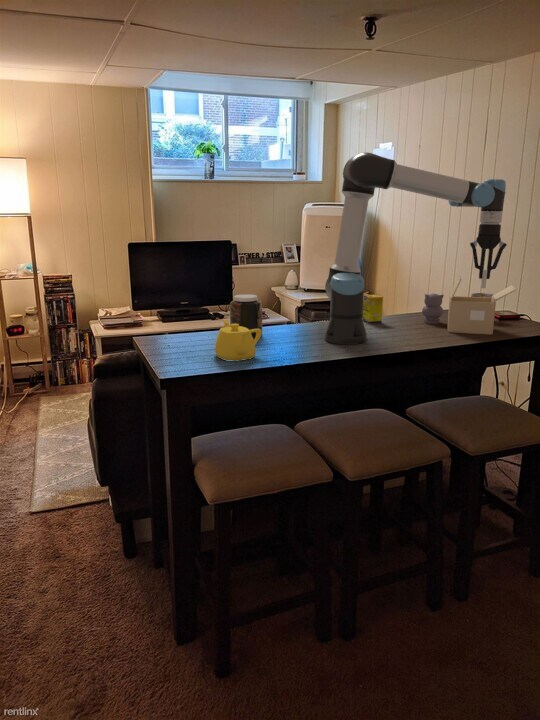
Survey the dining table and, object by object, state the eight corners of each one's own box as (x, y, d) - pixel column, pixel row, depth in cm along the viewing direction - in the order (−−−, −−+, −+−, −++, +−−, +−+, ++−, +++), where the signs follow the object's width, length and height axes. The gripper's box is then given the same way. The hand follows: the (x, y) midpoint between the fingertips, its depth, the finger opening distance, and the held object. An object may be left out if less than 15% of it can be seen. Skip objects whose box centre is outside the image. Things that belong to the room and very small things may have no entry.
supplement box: (362, 320, 232) (363, 295, 229) (375, 319, 234) (376, 294, 231) (368, 323, 227) (370, 297, 224) (381, 322, 228) (383, 296, 225)
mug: (497, 320, 230) (500, 295, 228) (479, 322, 227) (481, 297, 224) (477, 315, 241) (479, 291, 238) (460, 317, 238) (462, 292, 235)
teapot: (274, 362, 173) (274, 328, 170) (226, 367, 167) (225, 333, 164) (250, 346, 192) (250, 315, 189) (207, 350, 187) (206, 319, 184)
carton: (447, 332, 211) (450, 301, 208) (447, 325, 222) (449, 296, 219) (492, 334, 207) (495, 303, 203) (489, 327, 218) (492, 297, 215)
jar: (243, 340, 200) (242, 299, 195) (224, 335, 208) (223, 295, 204) (268, 335, 207) (268, 296, 203) (249, 330, 215) (248, 292, 211)
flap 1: (451, 300, 208) (450, 299, 208) (450, 295, 218) (449, 295, 218) (461, 279, 205) (460, 279, 205) (460, 275, 215) (459, 275, 215)
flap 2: (491, 296, 214) (491, 297, 214) (494, 300, 204) (494, 301, 204) (511, 284, 211) (512, 285, 211) (515, 288, 201) (516, 290, 201)
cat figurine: (441, 320, 231) (443, 292, 228) (443, 324, 224) (446, 295, 221) (420, 320, 233) (422, 291, 229) (422, 324, 225) (424, 295, 222)
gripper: (472, 223, 201) (465, 288, 207) (510, 224, 197) (502, 289, 204) (471, 222, 208) (464, 285, 214) (508, 223, 204) (500, 287, 210)
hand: (483, 287), depth 209 cm, fingers closed
